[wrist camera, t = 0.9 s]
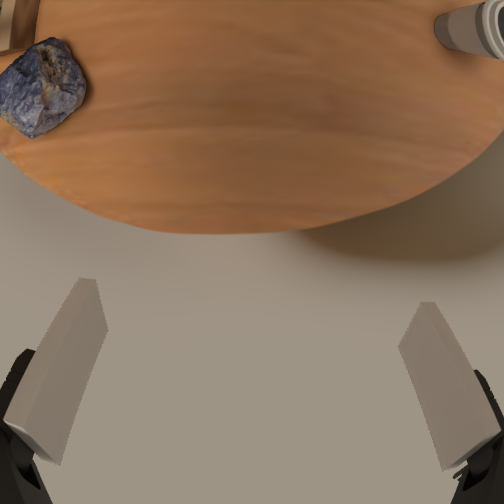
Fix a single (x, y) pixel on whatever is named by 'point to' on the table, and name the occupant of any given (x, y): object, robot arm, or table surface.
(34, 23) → the block
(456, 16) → the cup
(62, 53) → the rock
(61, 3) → the table surface
